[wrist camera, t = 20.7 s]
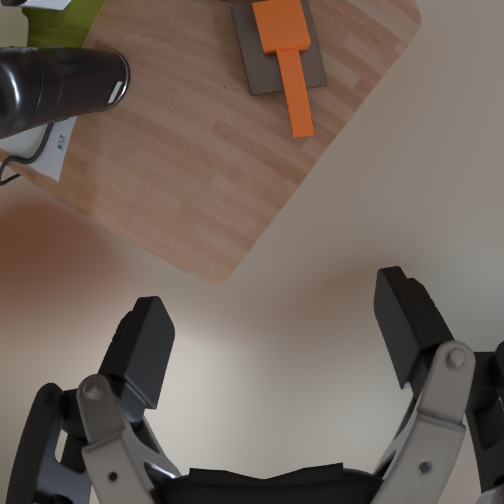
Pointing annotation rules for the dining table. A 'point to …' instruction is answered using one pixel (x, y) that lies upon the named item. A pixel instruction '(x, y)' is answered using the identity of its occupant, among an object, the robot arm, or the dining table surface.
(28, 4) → the jar
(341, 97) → the dining table surface
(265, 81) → the pad
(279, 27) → the orange toy mallet
